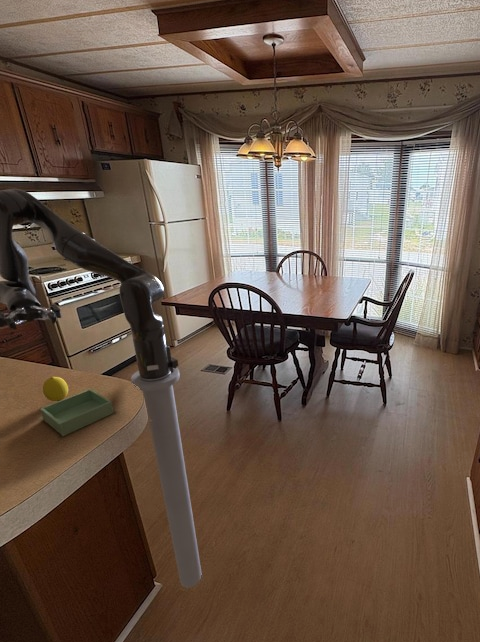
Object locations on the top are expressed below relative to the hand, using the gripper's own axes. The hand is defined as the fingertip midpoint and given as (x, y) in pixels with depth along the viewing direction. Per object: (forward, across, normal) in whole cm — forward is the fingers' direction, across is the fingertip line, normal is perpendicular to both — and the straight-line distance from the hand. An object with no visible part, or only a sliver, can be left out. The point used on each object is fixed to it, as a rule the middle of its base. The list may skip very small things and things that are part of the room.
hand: (34, 323), depth 95 cm
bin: (+23, +2, +19) cm, 30 cm away
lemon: (+11, 0, +20) cm, 23 cm away
